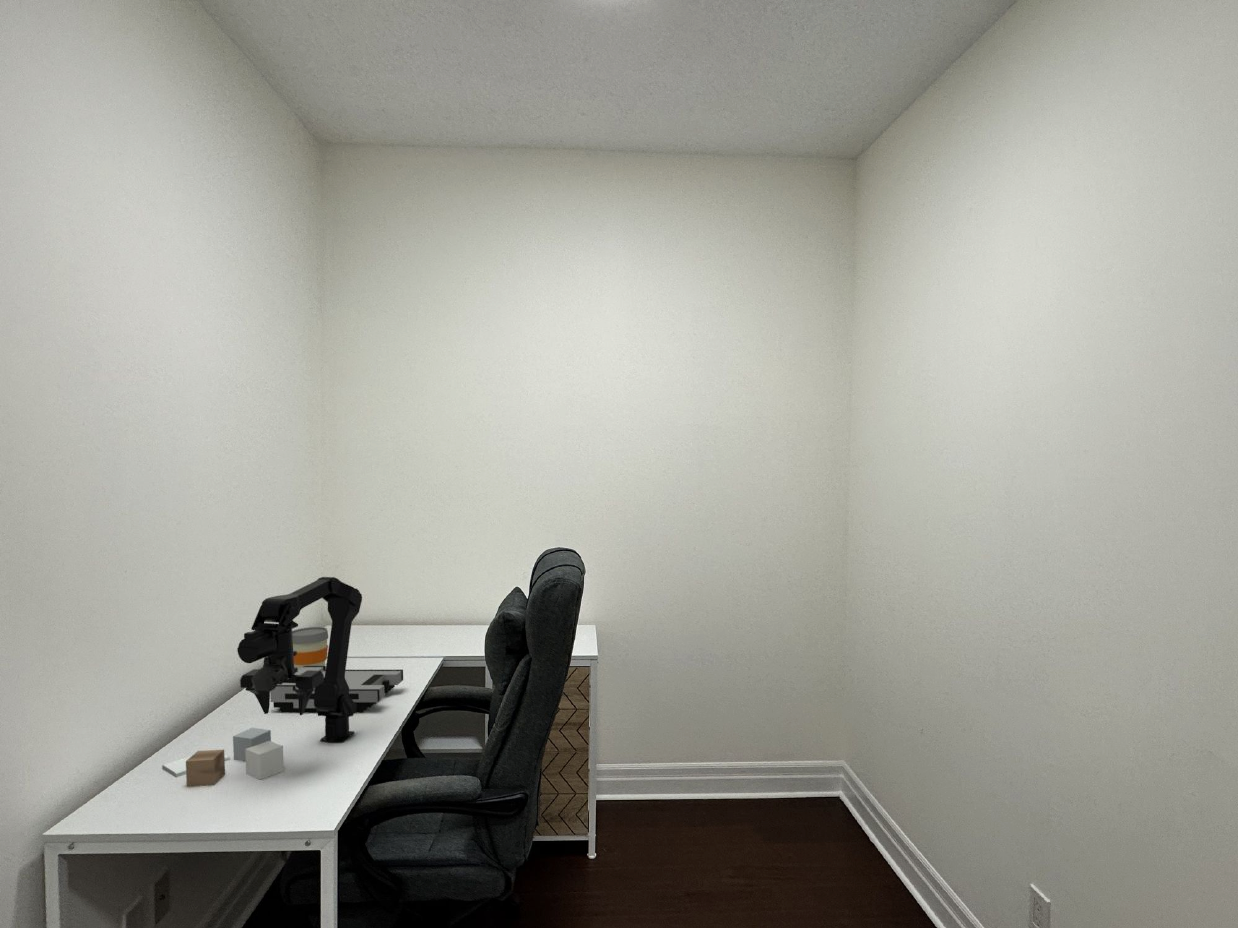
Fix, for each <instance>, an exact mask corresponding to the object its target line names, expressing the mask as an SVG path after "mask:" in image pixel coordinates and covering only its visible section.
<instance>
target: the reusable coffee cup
mask: <svg viewBox="0 0 1238 928" xmlns="http://www.w3.org/2000/svg"><path fill="white" fill-rule="evenodd" d="M328 631H329V630H328V628H327V627H324V626H323V627H322V626H310V627H303V628H297V629H294V630H292V637H293V651H297V655H296V656H294V667H295V668H298V670H299V669H300V668H302V667H304V666H325V667H326V661H327V656H328V649H329V644H328V639H329V633H328Z"/></svg>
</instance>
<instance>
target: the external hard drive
mask: <svg viewBox="0 0 1238 928" xmlns="http://www.w3.org/2000/svg"><path fill="white" fill-rule="evenodd" d="M213 750H218V748H214V749H213ZM190 757H191V756H187V757H184V758H182V759H178V760H174V761H172V762H167V763H164V764H162V765H161V769H162V770H164V771H165V772H166V773H168V774H170V775H171V776H173V777H175V778H178V777H181V776H185V775H186V761H187V760H188V759H189V758H190ZM224 757H225V762H227V761H230V760H231V758H230V755H228V754H227V753H224Z"/></svg>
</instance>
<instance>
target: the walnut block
mask: <svg viewBox="0 0 1238 928" xmlns="http://www.w3.org/2000/svg"><path fill="white" fill-rule="evenodd" d="M224 754H225V749H217V750H214V749H210V750H209V749H207V750H197V751H196V752H194V754H192V756H189V757H190V758H189V759H188V760H187V761H186V774H185V775H186V777H185V778H186V787H187V788H191V787H192V788H193V787H206V786H207V787H208V786H215V785H216V784H217V783H218V782H219V781H220V780H221V779H222V778H223V777H224V776H225V775H226V761H225V757H224Z"/></svg>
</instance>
